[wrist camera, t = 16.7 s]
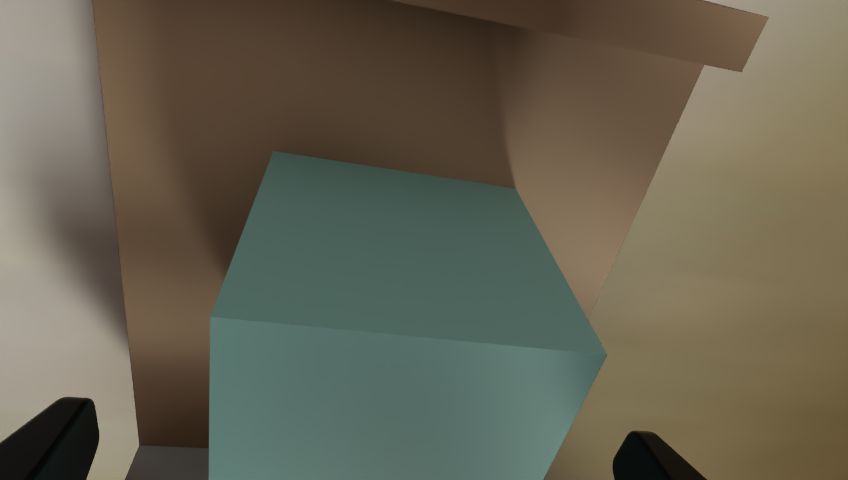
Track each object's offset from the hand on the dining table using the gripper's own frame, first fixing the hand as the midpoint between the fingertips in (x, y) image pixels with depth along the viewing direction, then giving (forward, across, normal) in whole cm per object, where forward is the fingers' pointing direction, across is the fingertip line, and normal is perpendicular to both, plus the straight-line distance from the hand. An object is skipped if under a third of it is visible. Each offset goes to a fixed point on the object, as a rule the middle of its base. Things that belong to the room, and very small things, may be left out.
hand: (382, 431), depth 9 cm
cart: (+8, 0, +1) cm, 8 cm away
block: (+5, 0, 0) cm, 5 cm away
